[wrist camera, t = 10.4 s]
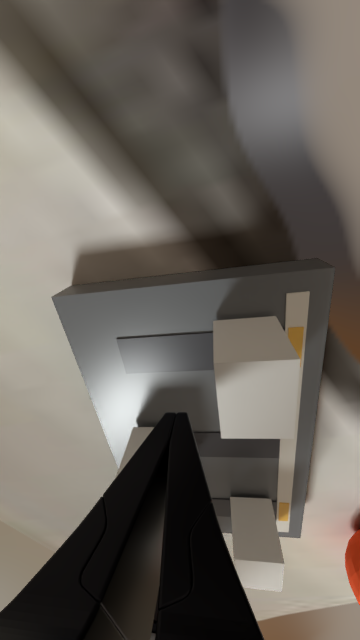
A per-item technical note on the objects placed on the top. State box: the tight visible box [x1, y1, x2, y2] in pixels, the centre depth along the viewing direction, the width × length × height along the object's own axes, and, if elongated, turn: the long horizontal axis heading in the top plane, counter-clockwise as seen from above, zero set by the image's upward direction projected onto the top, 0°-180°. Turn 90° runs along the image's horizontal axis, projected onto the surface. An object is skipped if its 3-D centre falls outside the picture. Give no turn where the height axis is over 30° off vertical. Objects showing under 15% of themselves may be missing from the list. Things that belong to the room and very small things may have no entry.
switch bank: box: [52, 258, 335, 538], centre depth 17 cm, size 23×14×2 cm, turn 8°
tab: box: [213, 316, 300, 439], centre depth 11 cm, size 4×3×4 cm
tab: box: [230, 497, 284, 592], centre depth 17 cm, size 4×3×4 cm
